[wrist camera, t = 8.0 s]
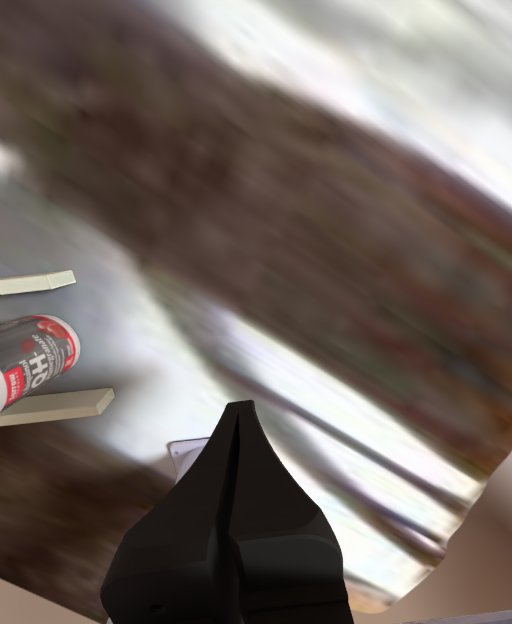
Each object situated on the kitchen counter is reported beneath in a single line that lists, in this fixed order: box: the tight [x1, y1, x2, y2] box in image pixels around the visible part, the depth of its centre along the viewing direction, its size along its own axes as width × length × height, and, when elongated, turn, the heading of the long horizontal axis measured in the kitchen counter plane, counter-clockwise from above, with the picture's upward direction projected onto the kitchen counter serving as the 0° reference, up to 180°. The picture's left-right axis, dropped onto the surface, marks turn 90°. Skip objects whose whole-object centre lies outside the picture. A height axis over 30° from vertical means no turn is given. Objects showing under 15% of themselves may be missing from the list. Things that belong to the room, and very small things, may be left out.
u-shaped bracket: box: [0, 270, 115, 426], centre depth 20 cm, size 12×11×2 cm
